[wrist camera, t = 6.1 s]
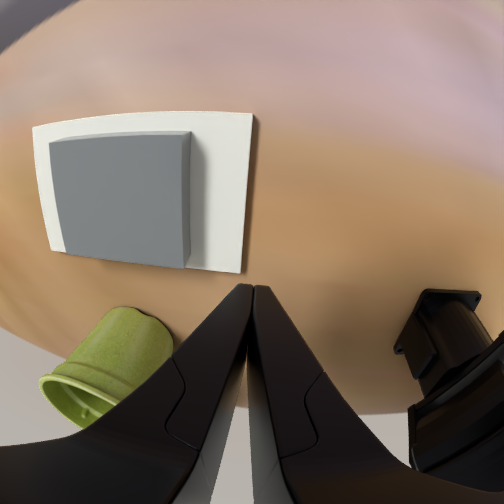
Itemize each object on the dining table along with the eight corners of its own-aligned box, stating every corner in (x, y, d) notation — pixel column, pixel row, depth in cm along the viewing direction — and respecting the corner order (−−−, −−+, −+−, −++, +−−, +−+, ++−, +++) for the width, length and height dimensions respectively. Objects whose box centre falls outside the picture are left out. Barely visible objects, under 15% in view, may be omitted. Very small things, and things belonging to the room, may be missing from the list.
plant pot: (131, 372, 24) (103, 446, 17) (70, 301, 20) (18, 377, 13) (213, 362, 22) (195, 457, 15) (151, 273, 18) (95, 377, 11)
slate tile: (181, 134, 12) (48, 142, 12) (183, 269, 15) (66, 253, 15) (191, 130, 13) (65, 137, 13) (190, 253, 16) (79, 241, 17)
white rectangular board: (253, 113, 13) (252, 114, 12) (240, 267, 17) (240, 273, 17) (38, 125, 13) (32, 127, 13) (55, 246, 18) (51, 250, 17)
